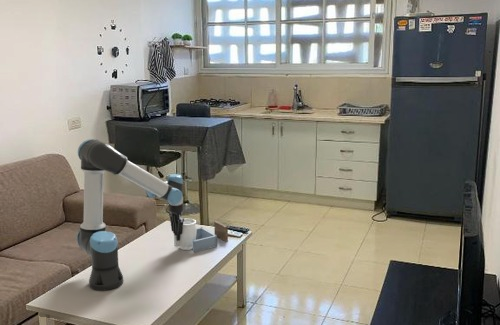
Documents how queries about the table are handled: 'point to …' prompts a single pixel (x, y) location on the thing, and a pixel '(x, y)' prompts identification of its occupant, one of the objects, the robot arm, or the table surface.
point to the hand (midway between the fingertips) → (177, 245)
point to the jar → (188, 234)
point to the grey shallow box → (204, 240)
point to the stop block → (221, 231)
